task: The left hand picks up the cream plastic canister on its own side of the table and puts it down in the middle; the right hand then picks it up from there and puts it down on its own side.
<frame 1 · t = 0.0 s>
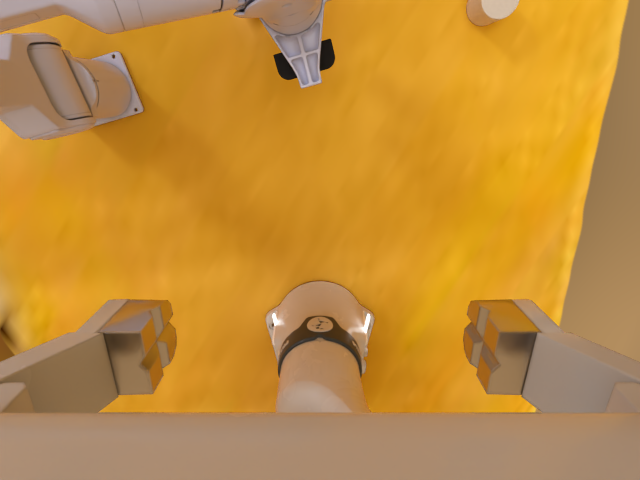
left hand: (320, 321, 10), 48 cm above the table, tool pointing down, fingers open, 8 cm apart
canister: (483, 6, 49), on the table
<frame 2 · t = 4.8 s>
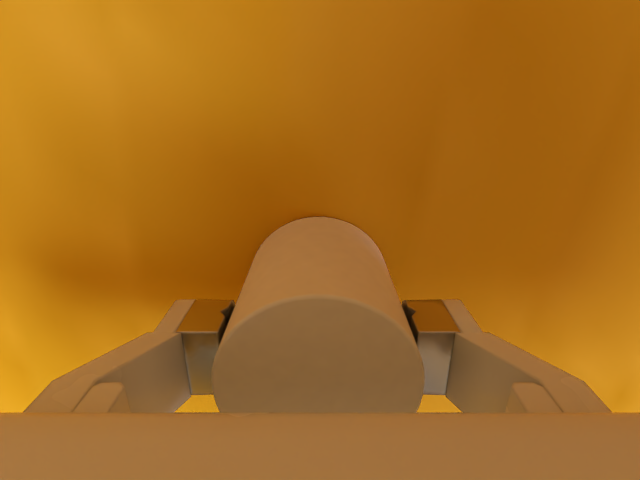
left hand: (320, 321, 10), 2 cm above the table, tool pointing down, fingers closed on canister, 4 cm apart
canister: (318, 280, 13), on the table, touching left hand
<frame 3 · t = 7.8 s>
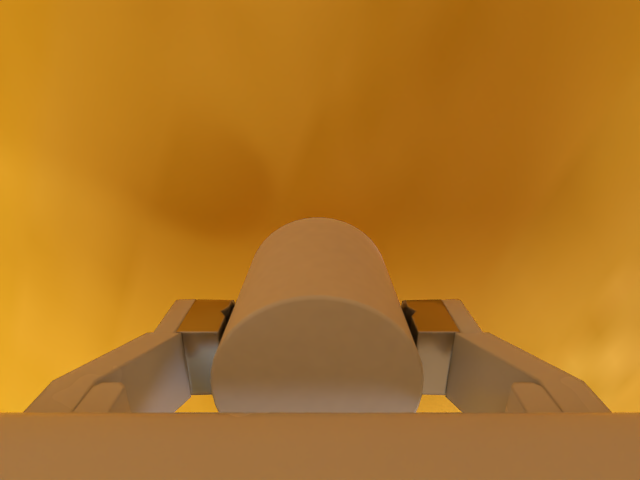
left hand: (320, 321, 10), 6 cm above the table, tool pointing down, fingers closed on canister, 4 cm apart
canister: (318, 281, 13), point 3 cm above the table, touching left hand
when the left hand's fingers open (3 cm above the table, at t = 10.9 s): canister stays where it is, on the table.
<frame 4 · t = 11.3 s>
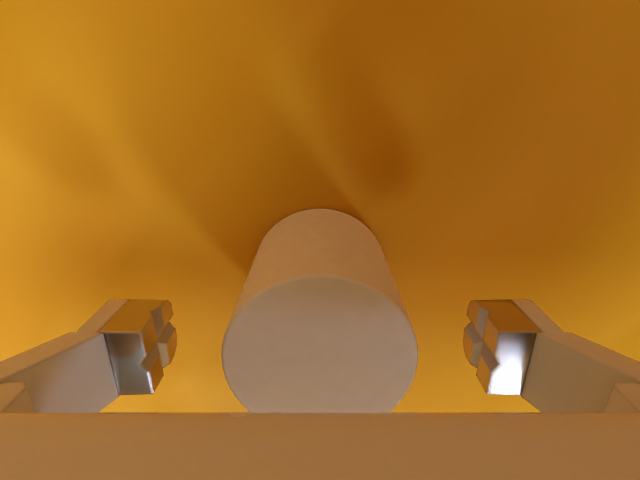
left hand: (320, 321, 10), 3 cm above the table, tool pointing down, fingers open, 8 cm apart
canister: (319, 269, 13), on the table
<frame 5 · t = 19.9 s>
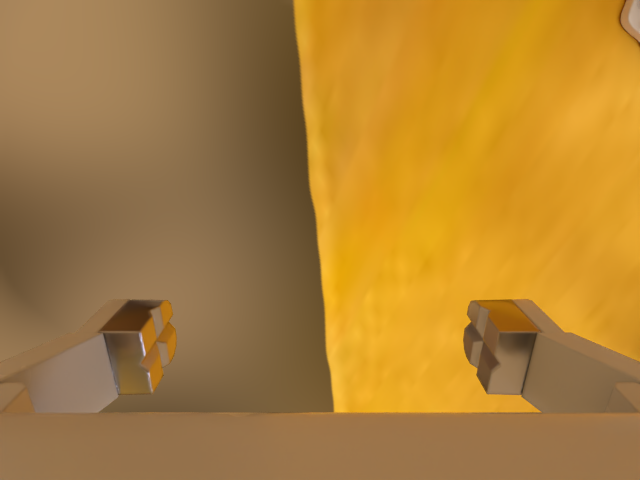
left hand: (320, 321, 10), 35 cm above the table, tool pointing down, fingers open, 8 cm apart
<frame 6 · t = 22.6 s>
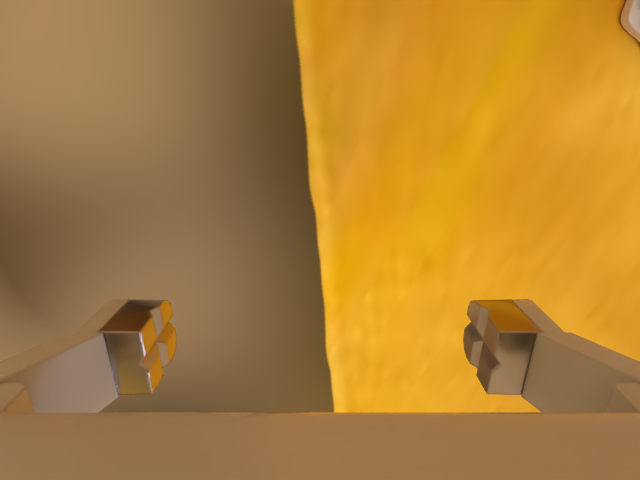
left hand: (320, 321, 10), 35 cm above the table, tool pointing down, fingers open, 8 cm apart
when the right hand's fingers open (2 cm above the table, at t = 25.5 s): canister stays where it is, on the table.
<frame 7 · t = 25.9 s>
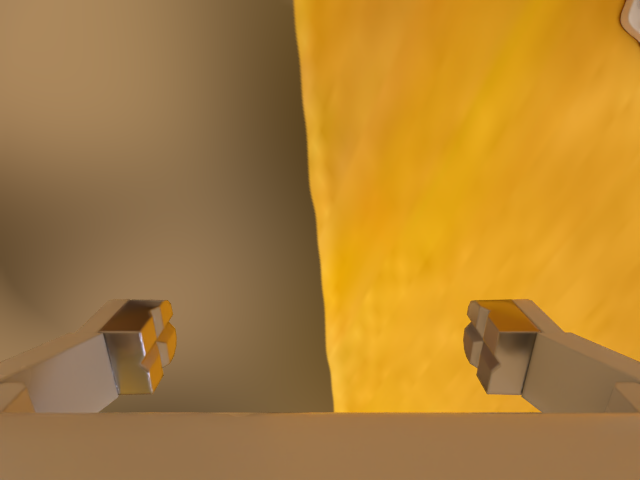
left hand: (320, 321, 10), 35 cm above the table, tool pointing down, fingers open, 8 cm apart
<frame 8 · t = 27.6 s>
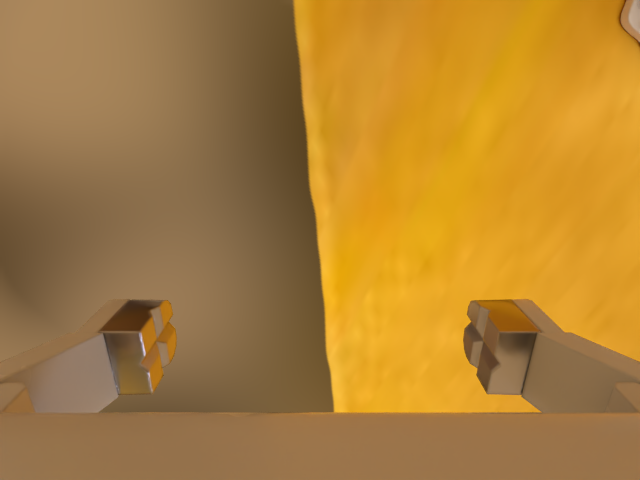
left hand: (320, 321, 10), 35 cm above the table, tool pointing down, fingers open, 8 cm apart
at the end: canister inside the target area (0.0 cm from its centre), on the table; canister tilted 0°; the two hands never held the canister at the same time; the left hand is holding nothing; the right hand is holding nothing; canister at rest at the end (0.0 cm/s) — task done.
